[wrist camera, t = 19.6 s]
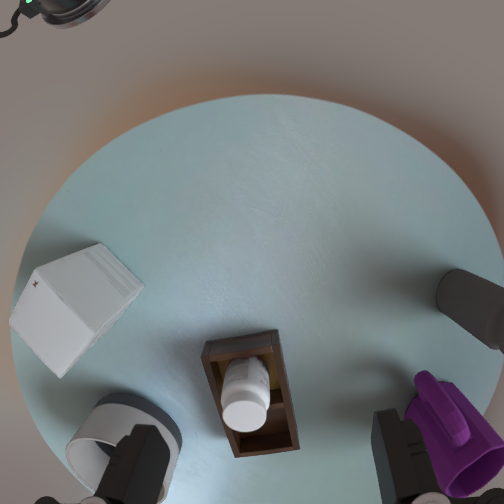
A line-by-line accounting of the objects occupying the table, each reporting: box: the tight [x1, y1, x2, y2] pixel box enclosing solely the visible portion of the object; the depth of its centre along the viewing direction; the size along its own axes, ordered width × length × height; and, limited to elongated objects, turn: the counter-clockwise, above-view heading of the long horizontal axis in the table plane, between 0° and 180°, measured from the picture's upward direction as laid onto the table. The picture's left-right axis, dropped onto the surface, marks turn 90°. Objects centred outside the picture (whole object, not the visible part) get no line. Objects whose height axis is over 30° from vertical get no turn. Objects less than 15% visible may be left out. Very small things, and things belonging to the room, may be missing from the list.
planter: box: [66, 394, 182, 504], centre depth 33 cm, size 13×13×10 cm
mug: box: [405, 370, 504, 498], centre depth 29 cm, size 9×16×15 cm, turn 35°
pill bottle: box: [221, 355, 270, 432], centre depth 31 cm, size 5×5×8 cm
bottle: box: [436, 269, 504, 354], centre depth 26 cm, size 6×6×15 cm
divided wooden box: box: [201, 330, 300, 458], centre depth 35 cm, size 8×15×4 cm, turn 12°
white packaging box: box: [8, 243, 145, 378], centre depth 28 cm, size 7×7×13 cm
